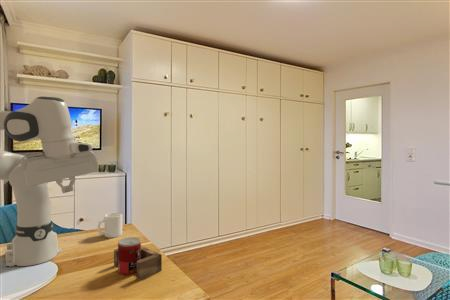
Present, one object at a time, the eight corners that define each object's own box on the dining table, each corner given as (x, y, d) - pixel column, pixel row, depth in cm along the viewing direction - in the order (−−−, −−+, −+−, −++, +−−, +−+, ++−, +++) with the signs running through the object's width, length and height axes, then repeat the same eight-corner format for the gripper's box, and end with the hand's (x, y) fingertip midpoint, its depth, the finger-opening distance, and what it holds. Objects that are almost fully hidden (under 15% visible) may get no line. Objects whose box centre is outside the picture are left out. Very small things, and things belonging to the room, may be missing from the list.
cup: (125, 234, 137) (125, 214, 137) (101, 241, 128) (101, 219, 128) (117, 231, 142) (117, 211, 142) (93, 237, 133) (93, 216, 133)
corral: (114, 265, 104) (113, 249, 103) (135, 257, 111) (135, 243, 110) (139, 280, 93) (139, 262, 93) (161, 270, 100) (161, 254, 100)
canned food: (131, 277, 95) (131, 246, 94) (113, 273, 97) (113, 243, 97) (145, 267, 102) (145, 238, 102) (127, 264, 105) (127, 235, 104)
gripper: (20, 156, 76) (30, 204, 78) (96, 144, 90) (103, 184, 92) (17, 154, 80) (27, 199, 83) (90, 143, 94) (96, 181, 97)
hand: (67, 191), depth 88 cm, fingers closed
